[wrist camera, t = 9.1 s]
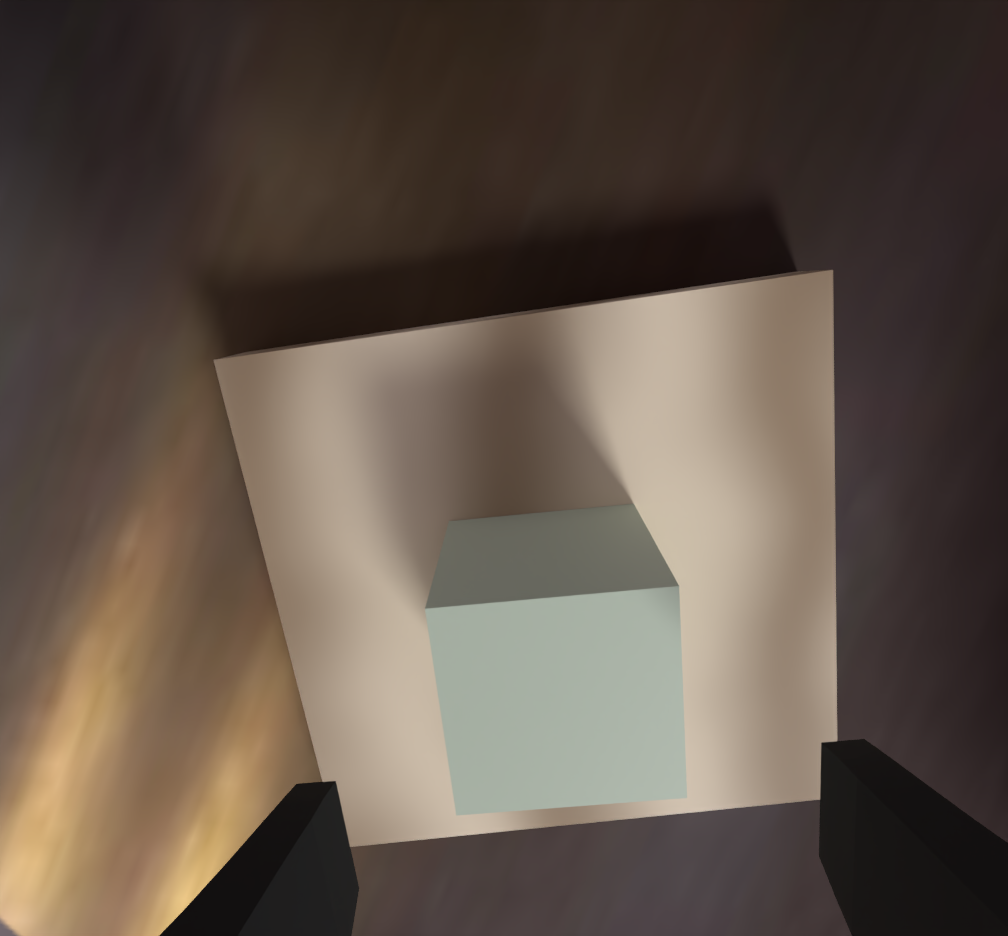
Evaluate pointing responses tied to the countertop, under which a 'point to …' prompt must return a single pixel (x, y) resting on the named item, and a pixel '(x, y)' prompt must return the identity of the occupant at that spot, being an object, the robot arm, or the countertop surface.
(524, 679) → the sage cube
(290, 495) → the birch block
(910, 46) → the countertop surface
